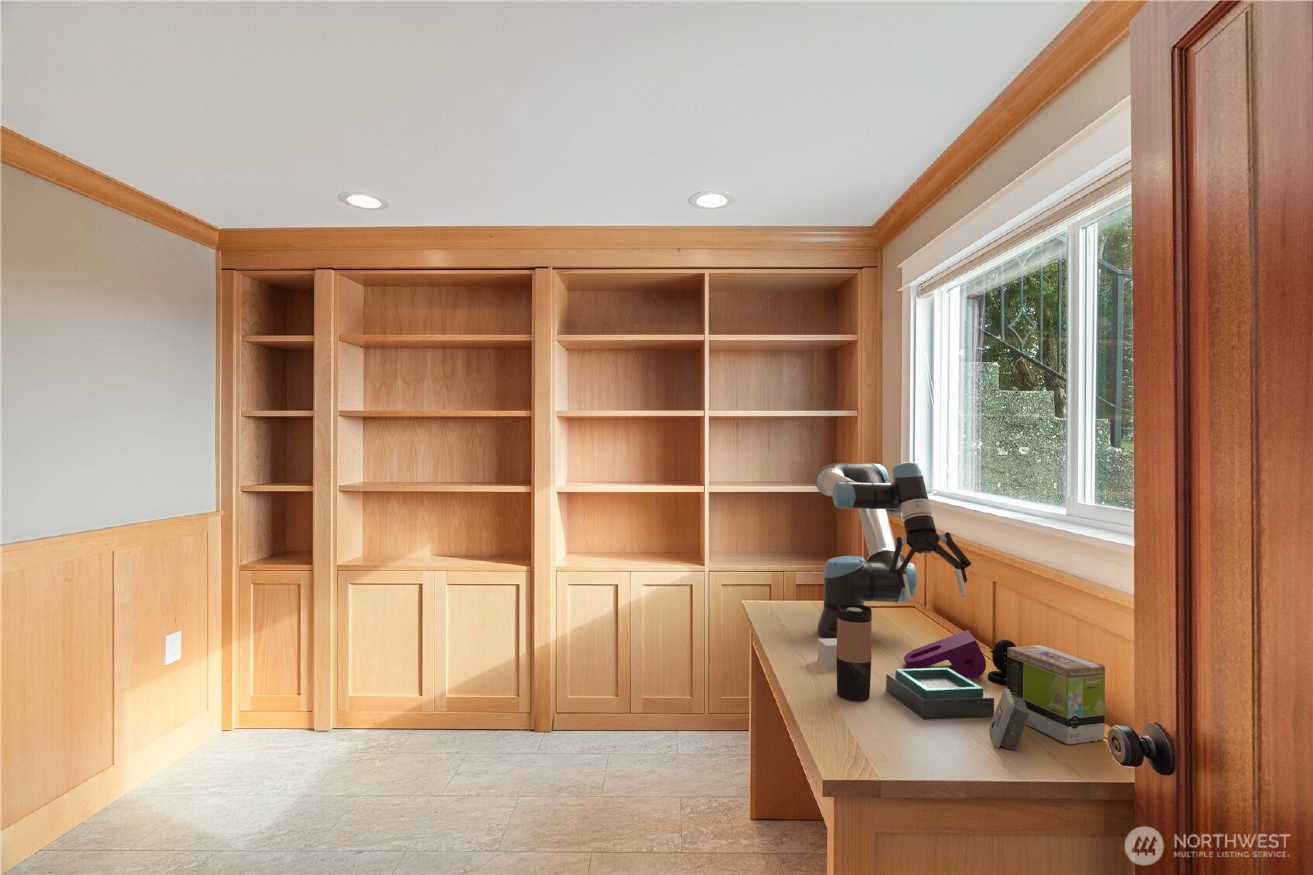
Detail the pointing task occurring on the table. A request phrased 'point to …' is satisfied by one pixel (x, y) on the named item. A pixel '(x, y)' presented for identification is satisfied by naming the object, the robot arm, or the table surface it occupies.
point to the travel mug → (854, 651)
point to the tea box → (1059, 692)
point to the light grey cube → (827, 653)
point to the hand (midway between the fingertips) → (936, 598)
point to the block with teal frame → (939, 694)
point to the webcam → (1000, 661)
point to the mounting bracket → (950, 655)
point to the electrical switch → (1008, 721)
